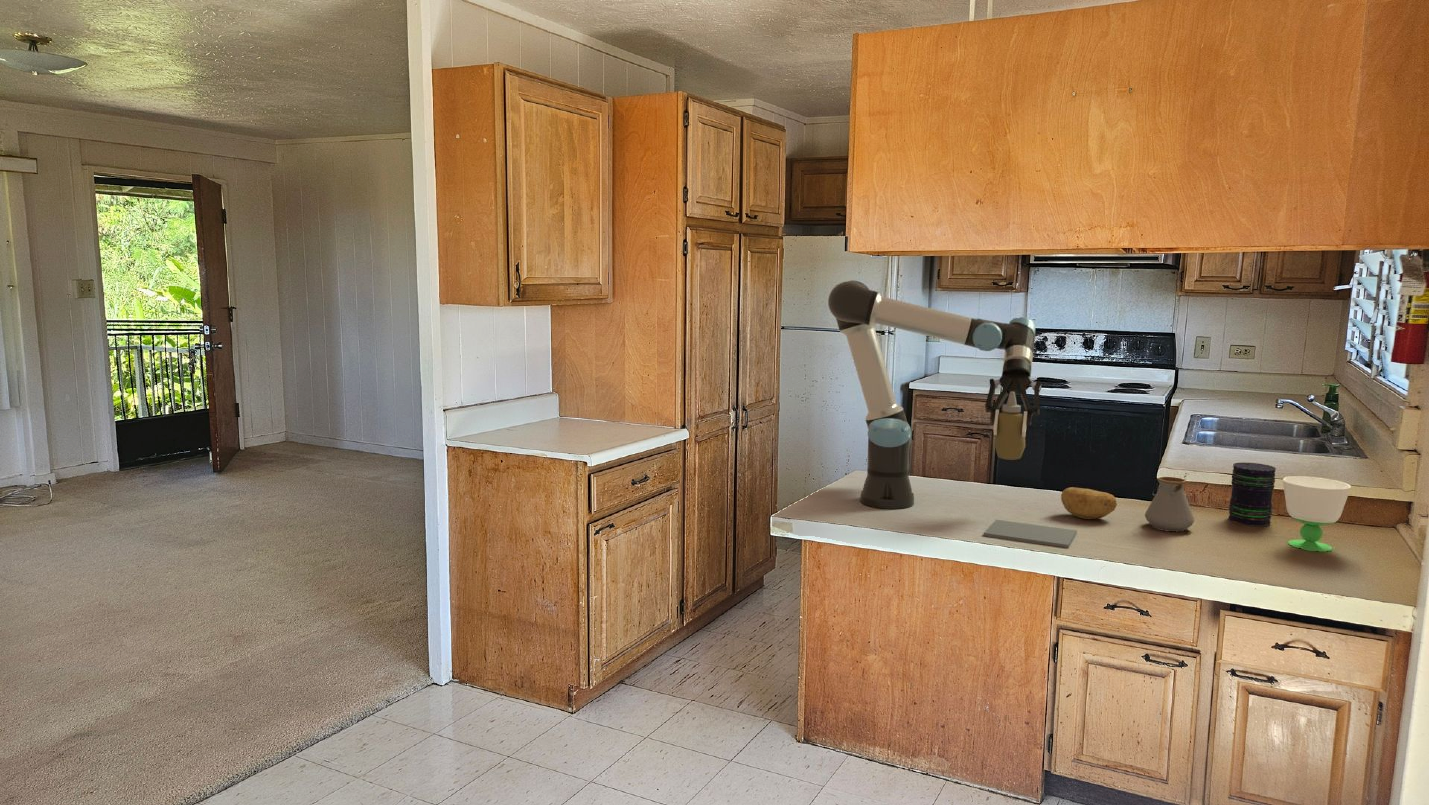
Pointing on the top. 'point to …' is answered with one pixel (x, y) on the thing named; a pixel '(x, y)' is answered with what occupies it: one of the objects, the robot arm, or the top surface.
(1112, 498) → the potato
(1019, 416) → the squeeze bottle
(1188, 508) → the coffee pot
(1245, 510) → the storage jar
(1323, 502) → the cup
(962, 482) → the top surface
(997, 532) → the rubber mat
